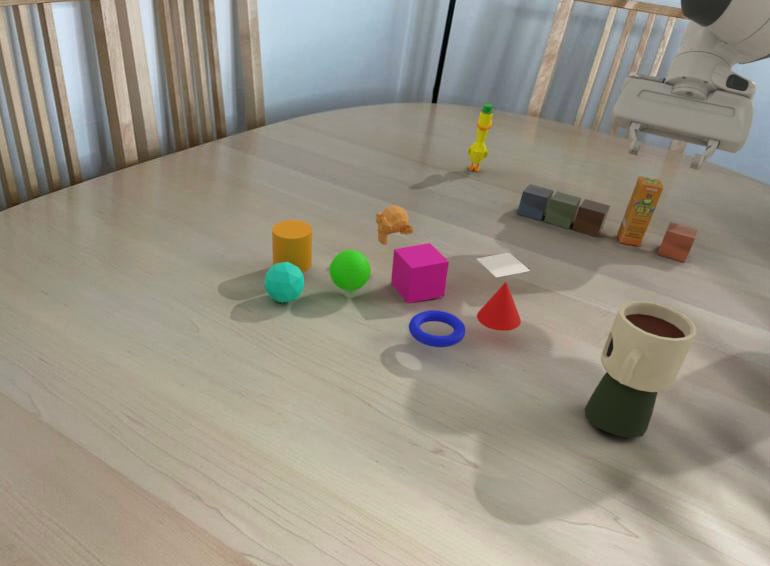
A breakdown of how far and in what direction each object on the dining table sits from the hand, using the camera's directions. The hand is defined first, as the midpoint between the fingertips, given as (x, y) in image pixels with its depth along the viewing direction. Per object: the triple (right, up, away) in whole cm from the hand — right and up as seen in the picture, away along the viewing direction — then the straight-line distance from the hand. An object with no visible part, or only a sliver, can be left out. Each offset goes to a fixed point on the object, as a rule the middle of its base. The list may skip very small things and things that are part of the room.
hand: (663, 160), depth 118 cm
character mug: (-25, -38, -39) cm, 60 cm away
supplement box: (-6, -13, -1) cm, 15 cm away
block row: (-10, -12, 0) cm, 15 cm away
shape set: (-45, -23, -22) cm, 55 cm away
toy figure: (-25, +3, +19) cm, 32 cm away
